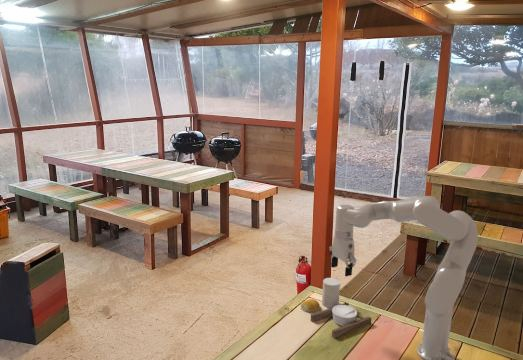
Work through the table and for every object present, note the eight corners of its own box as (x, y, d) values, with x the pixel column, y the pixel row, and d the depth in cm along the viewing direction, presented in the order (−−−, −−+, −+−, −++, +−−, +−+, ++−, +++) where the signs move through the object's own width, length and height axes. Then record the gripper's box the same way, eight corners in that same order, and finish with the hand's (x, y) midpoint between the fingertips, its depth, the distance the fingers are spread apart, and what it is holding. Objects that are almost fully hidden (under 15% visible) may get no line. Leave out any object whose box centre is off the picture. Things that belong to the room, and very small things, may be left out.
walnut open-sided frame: (370, 323, 192) (371, 317, 191) (334, 338, 180) (334, 331, 180) (346, 308, 205) (346, 302, 204) (310, 320, 193) (310, 314, 193)
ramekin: (355, 330, 187) (355, 319, 186) (329, 325, 190) (330, 314, 189) (357, 317, 197) (358, 307, 196) (333, 313, 201) (334, 302, 200)
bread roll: (322, 309, 204) (323, 301, 203) (309, 314, 199) (309, 306, 198) (311, 301, 211) (311, 294, 210) (297, 307, 206) (297, 299, 205)
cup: (318, 301, 211) (319, 279, 208) (332, 298, 214) (333, 276, 211) (327, 309, 203) (329, 286, 201) (341, 306, 207) (343, 283, 204)
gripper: (364, 239, 175) (361, 277, 178) (338, 226, 190) (335, 262, 193) (349, 241, 171) (346, 280, 175) (324, 228, 186) (322, 265, 190)
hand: (341, 271), depth 184 cm, fingers open, 9 cm apart
